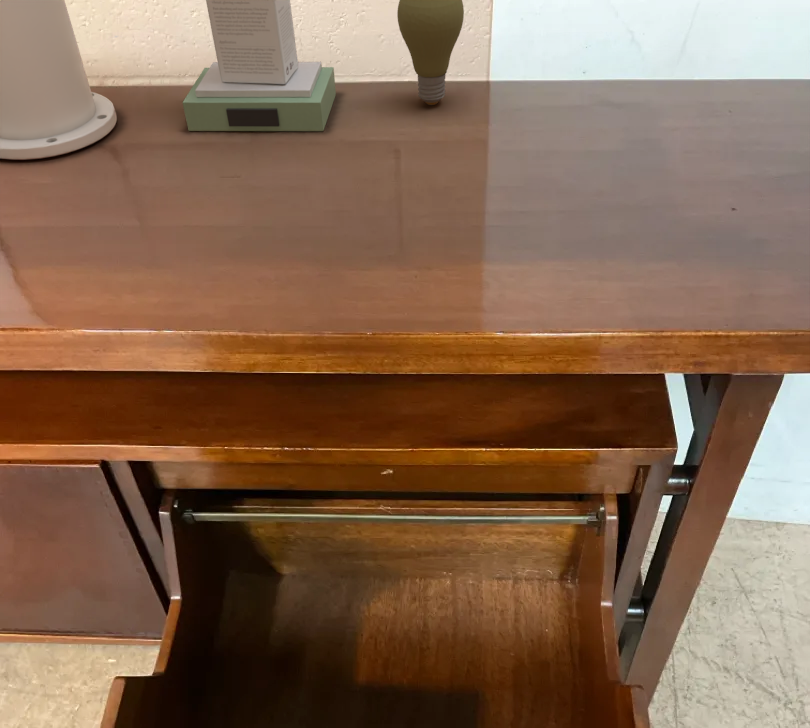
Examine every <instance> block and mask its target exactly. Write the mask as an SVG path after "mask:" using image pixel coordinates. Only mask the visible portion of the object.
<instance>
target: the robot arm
mask: <svg viewBox="0 0 810 728" xmlns="http://www.w3.org/2000/svg"><path fill="white" fill-rule="evenodd" d="M68 11H69V10H68V8H67V4H66V1H65V0H0V159H1V160H13V161H14V160H15V161H16V160H17V161H18V160H19V161H21V160H22V161H24V160H25V161H27V160H38V159H39V160H40V159H45V158H53V157H57V156H60V155H65V154H69V153H71V152H76V151H78V150H82V149H83V148H86V147H88V146H91V145H93V144H95V143H96V142H98V141H100V140H102V139H103V138H104V137H106V136H107V135H108V134H110V132H111V131H112V130H113V129H114V128H115V126H116V123H117V121H118V117H117V112H116V109H115V106H114V103H113V102H112V101H111V100H110V99H109V97H106V96H104V95H102V94H100V93H97V92H94V91H92V90H91V86H90V82H89V80H88V76H87V73H86V69H85V66H84V62H83V59H82V55H81V51H80V48H79V45H78V42H77V39H76V35H75V31H74V29H73V28H74V27H73V24H72V21H71V18H70V13H69V12H68Z"/></svg>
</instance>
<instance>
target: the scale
mask: <svg viewBox="0 0 810 728" xmlns="http://www.w3.org/2000/svg"><path fill="white" fill-rule="evenodd" d="M322 65H323V64H322V61H298V68H297V69H296V71H295V72H294V73H293V74H292V76H291V77H290V78H289V80H288V81H287V82H286V83H285V84H268V83H232V82H222V81H221V77H220V72H219V67H218V62H217V61H213V62H212V63H211V64H210V66H209V67H204V68H203V70H202V71H201V72H200V74H199V75H198V77H197V79H196V81H195V82H194V84H193V85H192V87H191V88H190V90H189V91H188V93H187V95H186V96H185V98H184V99H183V101H182V102H181V103H182V108H183V112H184V117H185V120H186V125H187V131H188V132H324V131H325V128H326V124H327V122H328V119H329V116H330V113H331V110H332V108H333V104H334V102H335V99H336V96H337V91H336V90H337V89H336V79H335V68H334V66H322Z"/></svg>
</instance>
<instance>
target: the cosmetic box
mask: <svg viewBox="0 0 810 728" xmlns="http://www.w3.org/2000/svg"><path fill="white" fill-rule="evenodd" d="M205 2H206V3H205V4H206V8H207V13H208V14H207V15H208V17H209V18H208V19H209V23H210V29H211V34H212V40H213V45H214V51H215V55H216V62H218V67H219V72H220V77H221V81H222V82H232V83H268V84H285V83H286V82H287V81H288V80H289V78H290V77H291V76H292V74H293V73H294V72H295V71H296V69H297V68H298V62H299V61H298V53H297V44H296V36H295V29H294V28H295V27H294V21H293V20H294V19H293V13H292V6H291V0H205Z"/></svg>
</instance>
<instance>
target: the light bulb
mask: <svg viewBox="0 0 810 728" xmlns="http://www.w3.org/2000/svg"><path fill="white" fill-rule="evenodd" d="M397 4H398V5H397V13H396V14H397V17H396V18H397V24H398V28H399V32H400V34H401V36H402V39H403V41H404V43H405V44H406V47H407V49H408V52H409V55H410V57H411V61H412V67H413V70H414V72H415V73H416V75H417V82H418V83H417V90H418V93H417V94H418V97H419V99H420V100H422V101H423V102H424V103H425V104H427V106H435V105H437V104H438V103H439V102H440V101H441V100H442V99H443V98H444V97H445V96H446V75H447V72H448V69H449V65H450V61H451V56H452V52H453V50H454V47H455V45H456V43H457V41H458V39H459V36H460V34H461V31H462V29H463V24H464V17H465V16H464V14H465V10H464V2H463V0H399V1H398V3H397Z"/></svg>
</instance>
